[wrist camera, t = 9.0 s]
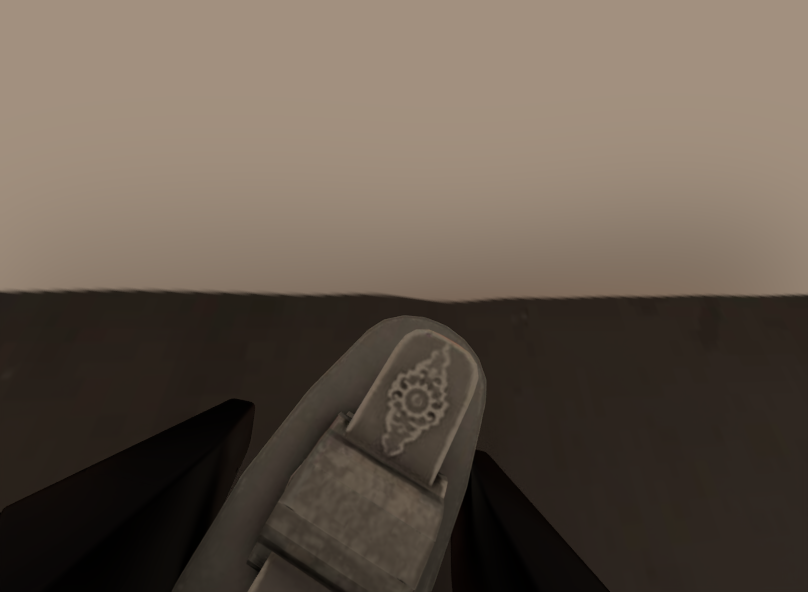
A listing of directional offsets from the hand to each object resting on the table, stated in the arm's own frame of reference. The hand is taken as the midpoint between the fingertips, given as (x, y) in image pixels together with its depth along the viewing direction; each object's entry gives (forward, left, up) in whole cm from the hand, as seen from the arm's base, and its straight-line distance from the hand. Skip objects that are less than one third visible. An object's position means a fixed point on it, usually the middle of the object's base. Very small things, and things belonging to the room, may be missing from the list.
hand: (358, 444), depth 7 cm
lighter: (0, +1, -7) cm, 7 cm away
